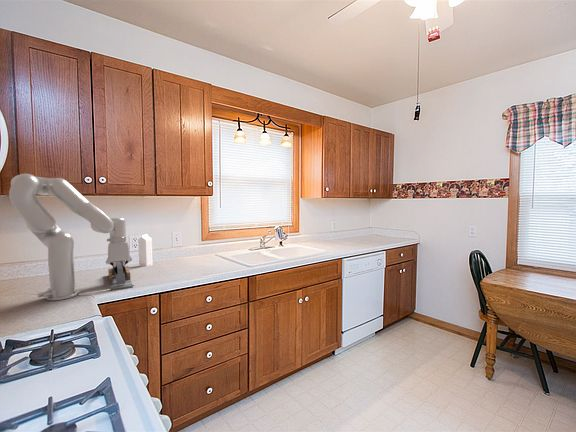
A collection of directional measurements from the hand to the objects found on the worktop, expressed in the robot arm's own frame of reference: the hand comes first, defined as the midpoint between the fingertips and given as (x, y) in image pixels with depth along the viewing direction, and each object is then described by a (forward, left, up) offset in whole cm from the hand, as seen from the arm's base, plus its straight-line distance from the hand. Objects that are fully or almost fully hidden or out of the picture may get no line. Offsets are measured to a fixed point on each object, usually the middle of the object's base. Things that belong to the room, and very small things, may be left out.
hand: (119, 273), depth 157 cm
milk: (+30, +23, -6) cm, 39 cm away
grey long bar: (+1, +3, -4) cm, 5 cm away
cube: (+4, +9, -5) cm, 11 cm away
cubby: (+1, +3, -6) cm, 7 cm away
